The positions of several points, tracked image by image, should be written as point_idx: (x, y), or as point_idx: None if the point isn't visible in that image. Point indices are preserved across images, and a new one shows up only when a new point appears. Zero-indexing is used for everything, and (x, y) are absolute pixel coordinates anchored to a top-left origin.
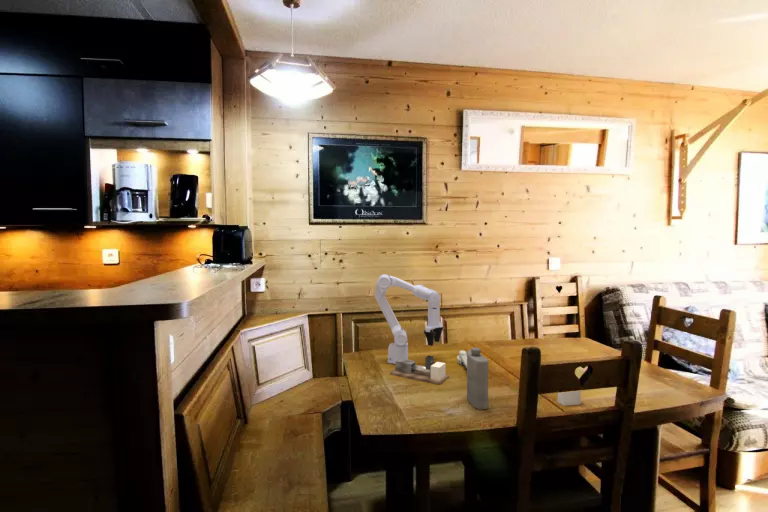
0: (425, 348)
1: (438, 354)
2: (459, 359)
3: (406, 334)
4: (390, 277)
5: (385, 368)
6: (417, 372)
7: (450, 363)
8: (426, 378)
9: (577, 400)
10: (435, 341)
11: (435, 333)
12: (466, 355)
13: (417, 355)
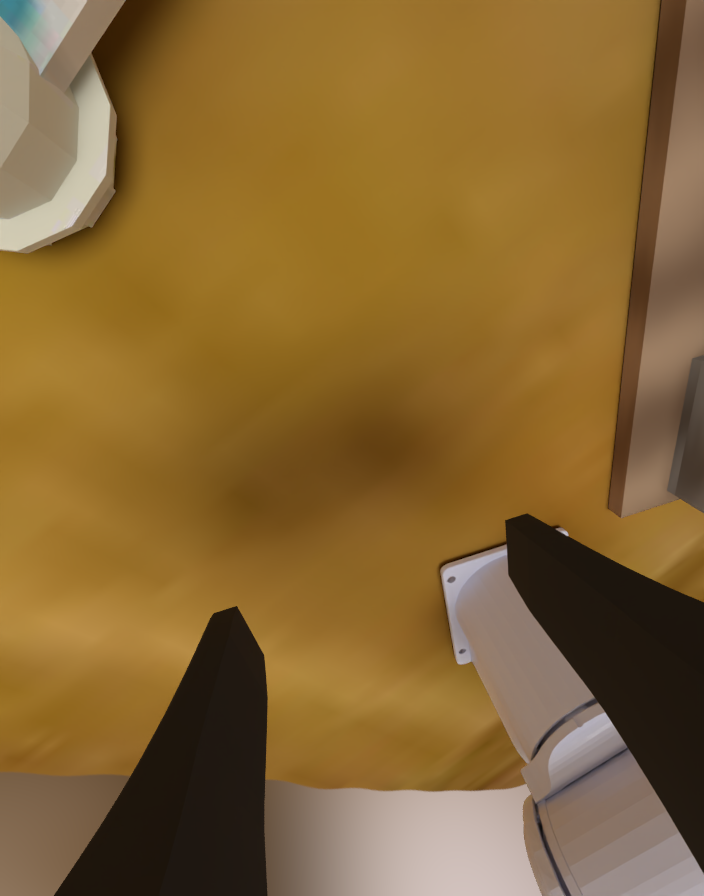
0: (74, 726)
1: (85, 571)
2: (103, 129)
3: (594, 892)
4: None
5: (656, 557)
6: None
7: (204, 285)
8: None
9: None
10: (258, 650)
11: (246, 857)
12: None
13: (281, 637)
